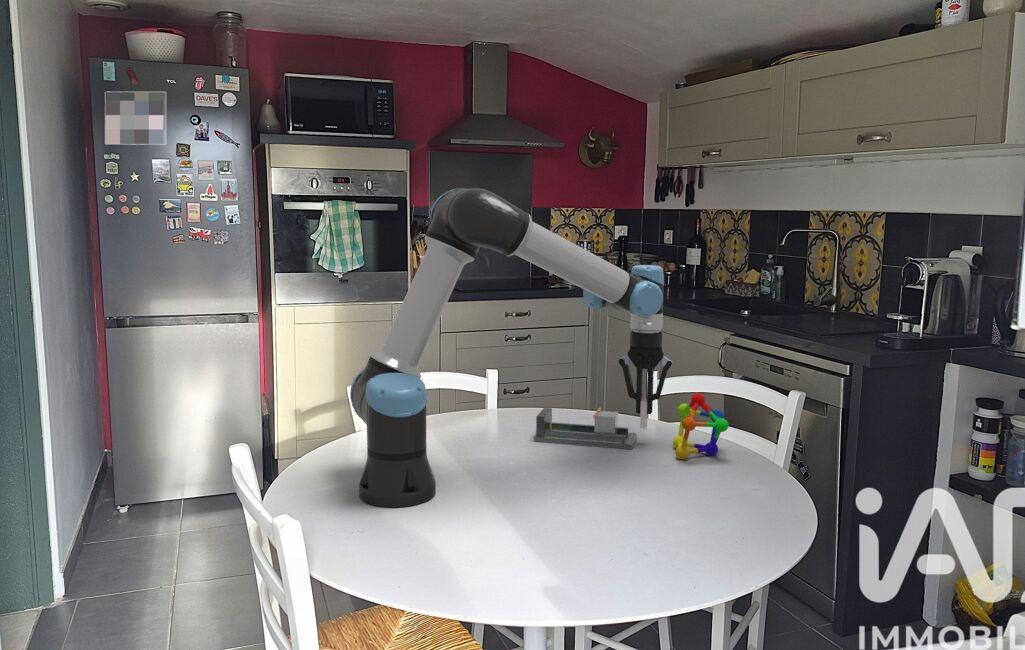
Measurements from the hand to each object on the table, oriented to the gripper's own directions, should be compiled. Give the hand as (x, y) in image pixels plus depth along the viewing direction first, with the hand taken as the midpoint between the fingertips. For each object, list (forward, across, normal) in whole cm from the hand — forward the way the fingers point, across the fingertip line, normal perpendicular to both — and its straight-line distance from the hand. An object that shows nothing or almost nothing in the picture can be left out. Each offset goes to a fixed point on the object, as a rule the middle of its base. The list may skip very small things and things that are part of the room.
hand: (643, 426), depth 198 cm
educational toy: (+5, +13, -4) cm, 15 cm away
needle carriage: (+3, -9, 0) cm, 9 cm away
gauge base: (+4, -14, 0) cm, 15 cm away
